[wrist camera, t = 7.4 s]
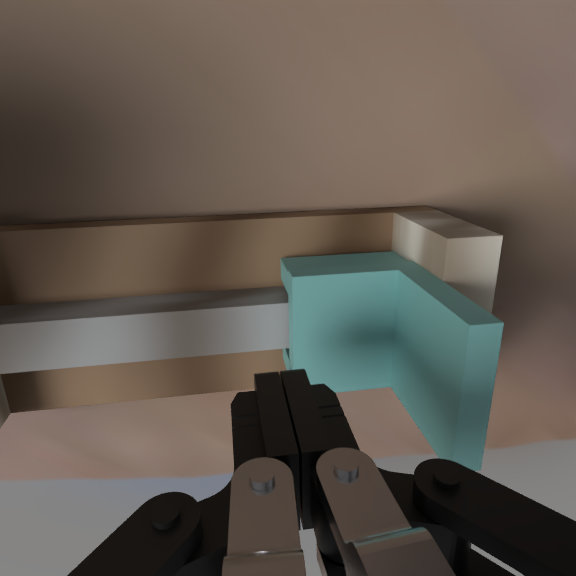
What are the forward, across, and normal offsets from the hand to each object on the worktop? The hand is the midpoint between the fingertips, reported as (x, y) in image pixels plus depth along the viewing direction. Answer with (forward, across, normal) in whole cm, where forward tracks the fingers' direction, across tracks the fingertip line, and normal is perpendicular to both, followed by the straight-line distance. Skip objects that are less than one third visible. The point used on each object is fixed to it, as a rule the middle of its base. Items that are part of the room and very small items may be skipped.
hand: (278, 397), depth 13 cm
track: (+8, +2, 0) cm, 9 cm away
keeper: (+7, -4, 0) cm, 8 cm away
